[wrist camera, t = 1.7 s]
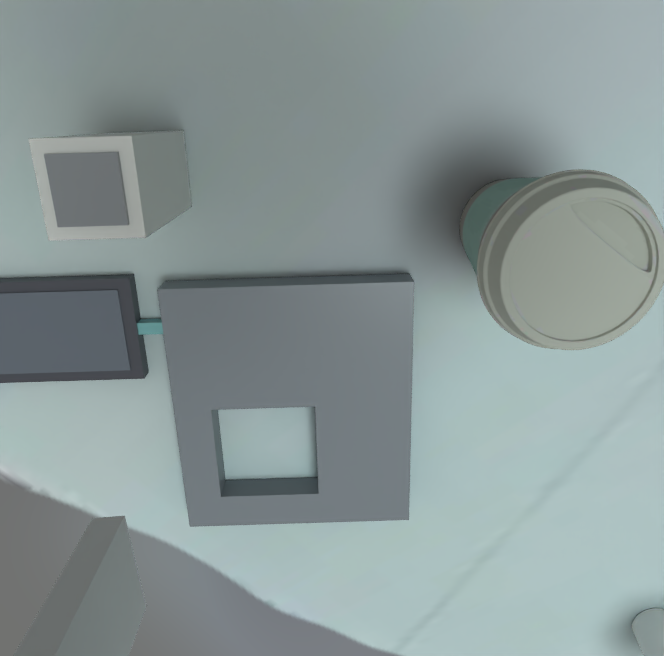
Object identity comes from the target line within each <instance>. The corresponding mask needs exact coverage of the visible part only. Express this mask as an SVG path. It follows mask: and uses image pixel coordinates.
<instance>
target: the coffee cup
mask: <svg viewBox="0 0 664 656" xmlns="http://www.w3.org/2000/svg"><path fill="white" fill-rule="evenodd" d="M460 238H461V242H462V245H463V247H464V249H465V252H466V254H467V256H468V258H469V260H470V262H471V264H472V267H473V269H474V271H475V273H476V275H477V281H478V287H479V291H480V295H481V298H482V300H483V303H484V305H485V307H486V308H487V310H488V312H489V313H490V315H491V316H492V318H493V319H494V320H495V321H496V322H497V323H498V324H499V325H500V326H501V327H502V328H503V329H504V330H506V331H507V332H508V333H510V334H511V335H513V336H515V337H517V338H519V339H521V340H523V341H525V342H527V343H529V344H532V345H535V346H539V347H543V348H550V349H562V350H581V349H587V348H592V347H596V346H599V345H602V344H605V343H607V342H609V341H612V340H614V339H615V338H617V337H619V336H621V335H622V334H624V333H625V332H627V331H628V330H630V329H631V328H632V327H633V326H634V325H636V324H637V323H638V322H639V321H640V320H641V319H642V318H643V317H644V316H645V314H646V313H647V312H648V311H649V309H650V308H651V307H652V305H653V304H654V302H655V300H656V299H657V297H658V295H659V293H660V291H661V289H662V286H663V283H664V230H663V228H662V226H661V224H660V222H659V220H658V218H657V216H656V214H655V212H654V210H653V209H652V207H651V206H650V204H649V203H648V202H647V200H646V199H645V198H644V197H643V196H642V195H641V194H640V193H639V192H638V191H637V190H635V189H634V188H633V187H631V186H630V185H628V184H627V183H626V182H624V181H622V180H621V179H619V178H617V177H614V176H612V175H610V174H607V173H603V172H599V171H594V170H567V171H561V172H557V173H553V174H550V175H547V176H545V177H540V178H514V179H502V180H497V181H494V182H492V183H489V184H487V185H486V186H484V187H482V188H481V189H480V190H478V191H477V192H476V193H475V194H474V195H473V196H472V197H471V198H470V200H469V201H468V203H467V204H466V206H465V208H464V210H463V213H462V216H461V220H460Z"/></svg>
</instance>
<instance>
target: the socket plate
mask: <svg viewBox="0 0 664 656" xmlns="http://www.w3.org/2000/svg"><path fill="white" fill-rule="evenodd" d="M157 291H158V299H159V306H160V313H161V320H162V328H163V335H164V342H165V350H166V357H167V364H168V371H169V379H170V386H171V393H172V401H173V408H174V415H175V422H176V430H177V437H178V444H179V451H180V459H181V466H182V473H183V481H184V488H185V495H186V502H187V510H188V517H189V524H190V527H192V526H224V525H256V524H288V523H321V522H353V521H385V520H409V492H410V447H411V403H412V359H413V314H414V280H413V279H412V277H411V275H410V274H378V275H345V276H311V277H278V278H245V279H211V280H178V281H165V282H164V283H163V284H162V285H161V286H160V287H159V288H158V289H157ZM285 407H315V417H316V441H317V465H318V477H314V478H282V479H250V480H225V472H224V463H223V454H222V445H221V435H220V426H219V417H218V410H220V409H252V408H285Z"/></svg>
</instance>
